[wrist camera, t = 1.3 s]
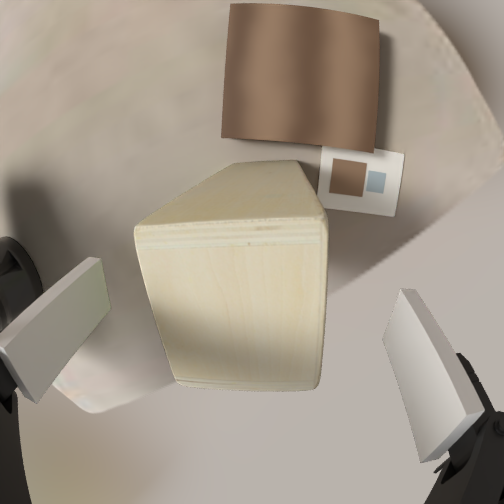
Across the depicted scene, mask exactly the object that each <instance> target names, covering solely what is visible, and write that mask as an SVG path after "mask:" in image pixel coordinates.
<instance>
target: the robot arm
mask: <svg viewBox="0 0 504 504" xmlns="http://www.w3.org/2000/svg"><path fill="white" fill-rule="evenodd" d="M110 309H111V305H110V300H109V296H108V291H107V286H106V281H105V276H104V271H103V265H102V260H101V258H95V257H88V258H87V259H85V260H84V261H83V262H81V263H80V264H79V265H78V266H76V267H75V268H74V269H73V270H71V271H70V272H69V273H68V274H66V275H65V276H64V277H63V278H61V279H60V280H59V281H58V282H57V283H55V284H54V285H53V286H52V287H51V288H49V289H48V290H47V291H46V292H45V293H44V294H43V290H42V285H41V282H40V278H39V276H38V273H37V271H36V268H35V266H34V264H33V263H32V261H31V259H30V257H29V256H28V254H27V253H26V252H25V250H24V249H23V248H22V247H21V246H20V245H19V244H18V243H17V242H16V241H15V240H13V239H11V238H9V237H1V238H0V504H32V503H31V499H30V495H29V490H28V486H27V481H26V476H25V471H24V465H23V459H22V452H21V444H20V435H19V423H18V422H19V421H18V398H17V394H16V392H15V391H14V390H15V389H16V388H17V386H18V388H19V389H20V391H21V392H22V394H23V395H24V396H25V397H26V398H28V399H30V400H31V401H33V402H34V403H36V404H37V403H38V402H39V401H40V399H41V398H42V396H43V395H44V394H45V392H46V391H47V389H48V388H49V387H50V385H51V384H52V383H53V381H54V380H55V378H56V377H57V376H58V374H59V373H60V372H61V370H62V369H63V368H64V367H65V365H66V364H67V363H68V361H69V360H70V359H71V357H72V356H73V355H74V354H75V352H76V351H77V350H78V348H79V347H80V346H81V345H82V343H83V342H84V341H85V340H86V338H87V337H88V336H89V335H90V334H91V332H92V331H93V330H94V329H95V327H96V326H97V325H98V324H99V323H100V321H101V320H102V319H103V318H104V317H105V315H106V314H107V313H108V312H109V311H110ZM382 340H383V343H384V345H385V348H386V351H387V354H388V356H389V359H390V362H391V365H392V367H393V371H394V373H395V377H396V380H397V382H398V386H399V389H400V392H401V395H402V398H403V401H404V404H405V408H406V411H407V415H408V418H409V421H410V425H411V429H412V432H413V436H414V439H415V443H416V447H417V451H418V455H419V459H420V463H424V462H428V461H432V460H436V459H439V458H440V457H441V456H442V455H443V454H444V453H445V452H446V451H449V455H450V457H449V458H448V459H447V460H446V461H445V462H443V463H442V464H441V465H440V466H439V467H438V468H437V469H436V470H435V471H434V473H437V472H438V471H440V470H441V469H442V470H441V472H440V474H439V477H438V479H437V481H436V483H435V485H434V487H433V488H432V490H431V492H430V494H429V496H428V498H427V500H426V501H425V503H424V504H504V412H500V411H498V412H496V411H495V410H494V408H493V406H492V404H491V402H490V400H489V398H488V396H487V394H486V392H485V390H484V388H483V386H482V384H481V382H479V378H478V377H477V375H476V374H475V373H474V370H473V368H472V366H471V364H470V362H469V361H468V360H467V359H466V358H465V357H464V356H463V355H462V354H461V353H455V352H454V350H453V348H452V346H451V345H450V343H449V341H448V340H447V338H446V336H445V335H444V333H443V331H442V330H441V328H440V327H439V325H438V323H437V322H436V320H435V319H434V317H433V316H432V314H431V312H430V311H429V310H428V308H427V307H426V305H425V303H424V302H423V300H422V299H421V297H420V296H419V295H418V293H417V292H416V290H413V289H400V291H399V294H398V297H397V300H396V303H395V306H394V309H393V312H392V315H391V318H390V320H389V323H388V325H387V328H386V331H385V333H384V336H383V339H382Z"/></svg>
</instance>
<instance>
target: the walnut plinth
mask: <svg viewBox="0 0 504 504" xmlns="http://www.w3.org/2000/svg"><path fill="white" fill-rule="evenodd" d="M379 62H380V44H379V20H376V19H372V18H368V17H364V16H359V15H355V14H350V13H345V12H340V11H334V10H328V9H321V8H314V7H305V6H295V5H282V4H257V3H241V4H231V5H230V15H229V26H228V38H227V50H226V64H225V78H224V94H223V112H222V132H221V138H237V139H256V140H271V141H283V142H294V143H304V144H313V145H321V146H329V147H336V148H343V149H350V150H356V151H362V152H368V153H373V154H374V146H375V136H376V125H377V111H378V95H379Z"/></svg>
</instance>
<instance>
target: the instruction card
mask: <svg viewBox="0 0 504 504" xmlns="http://www.w3.org/2000/svg"><path fill="white" fill-rule="evenodd" d="M403 162H404V154H401V153H396V152H391V151H386V150H381V149H376V148H374V154H373V153H368V152H362V151H356V150H350V149H343V148H336V147H329V146H322V152H321V163H320V173H319V182H318V191H317V196H318V198H319V200H320V201H321V203H322V205H323V207H324V208H327V209H336V210H344V211H352V212H360V213H368V214H375V215H383V216H390V217H395V212H396V207H397V201H398V195H399V189H400V183H401V177H402V170H403Z"/></svg>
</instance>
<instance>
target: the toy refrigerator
mask: <svg viewBox="0 0 504 504" xmlns="http://www.w3.org/2000/svg"><path fill="white" fill-rule="evenodd" d="M134 239H135V246H136V251H137V255H138V259H139V264H140V268H141V272H142V275H143V279H144V283H145V287H146V291H147V294H148V298H149V301H150V305H151V308H152V312H153V315H154V318H155V322H156V325H157V328H158V331H159V334H160V338H161V341H162V344H163V347H164V350H165V353H166V356H167V359H168V362H169V364H170V367H171V370H172V373H173V375H174V378H175V380H176V381H177V383H178V384H179V385H182V386H186V387H194V388H204V389H219V390H239V391H306V390H313V389H315V388H316V387H317V386H318V384H319V381H320V376H321V367H322V357H323V346H324V334H325V320H326V304H327V285H328V257H329V224H328V217H327V213H326V211H325V209H324V207H323V205H322V203H321V201H320V200H319V198H318V196H317V194H316V193H315V191H314V189H313V187H312V186H311V184H310V182H309V180H308V179H307V177H306V175H305V173H304V172H303V170H302V168H301V166H300V164H299V163H298V161H297V160H279V161H260V162H245V163H234V164H231V165H230V166H228V167H226V168H224V169H223V170H221V171H219V172H218V173H216V174H214V175H212V176H211V177H209V178H207V179H206V180H204V181H203V182H201V183H199V184H198V185H196V186H195V187H193V188H191V189H190V190H188V191H186V192H185V193H183V194H181V195H180V196H178V197H177V198H175V199H174V200H172V201H171V202H169V203H167V204H166V205H164V206H163V207H161V208H160V209H158V210H157V211H155V212H153V213H152V214H151V215H149V216H148V217H146V218H145V219H143V220H142V221H141V222H139V223H138V224H137V225H136V226H135V228H134Z"/></svg>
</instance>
